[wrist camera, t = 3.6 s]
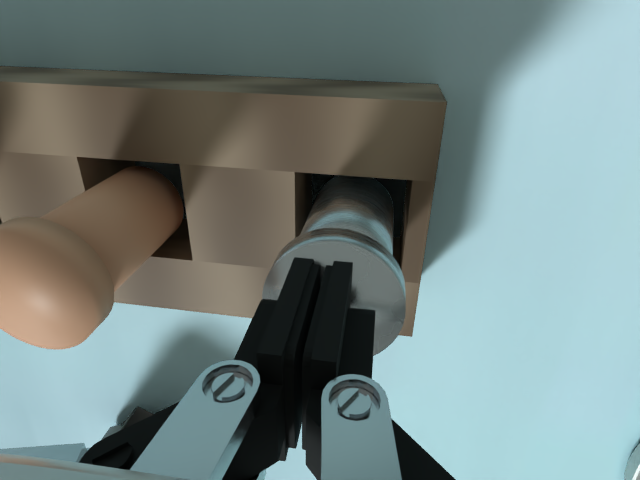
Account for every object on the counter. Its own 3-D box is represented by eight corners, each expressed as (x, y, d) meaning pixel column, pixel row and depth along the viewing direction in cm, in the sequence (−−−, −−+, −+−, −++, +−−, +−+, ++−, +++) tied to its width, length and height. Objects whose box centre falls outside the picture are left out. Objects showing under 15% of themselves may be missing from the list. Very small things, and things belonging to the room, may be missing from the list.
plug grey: (408, 167, 18) (414, 251, 11) (398, 257, 20) (398, 370, 13) (306, 160, 18) (258, 237, 12) (305, 248, 20) (264, 353, 14)
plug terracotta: (185, 159, 18) (75, 238, 12) (197, 249, 20) (108, 356, 14) (91, 153, 18) (-62, 225, 12) (112, 241, 20) (-11, 340, 14)
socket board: (437, 84, 18) (446, 102, 15) (409, 286, 23) (411, 336, 19) (-70, 63, 21) (-163, 73, 18) (-2, 244, 26) (-65, 281, 22)
